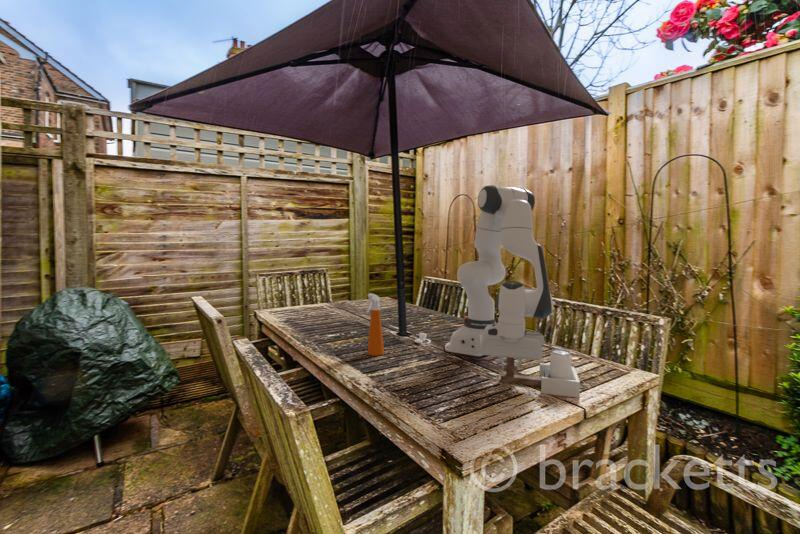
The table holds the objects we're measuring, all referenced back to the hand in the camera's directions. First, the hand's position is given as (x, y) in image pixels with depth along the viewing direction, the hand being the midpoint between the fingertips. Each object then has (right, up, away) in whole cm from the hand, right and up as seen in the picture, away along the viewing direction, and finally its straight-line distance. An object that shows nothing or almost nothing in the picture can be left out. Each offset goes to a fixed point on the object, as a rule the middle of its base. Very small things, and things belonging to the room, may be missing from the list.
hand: (510, 369), depth 126 cm
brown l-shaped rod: (+4, -4, -1) cm, 6 cm away
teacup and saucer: (-30, -1, +49) cm, 58 cm away
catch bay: (+14, -4, -4) cm, 16 cm away
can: (+15, -5, -5) cm, 16 cm away
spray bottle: (-49, -2, +29) cm, 57 cm away
